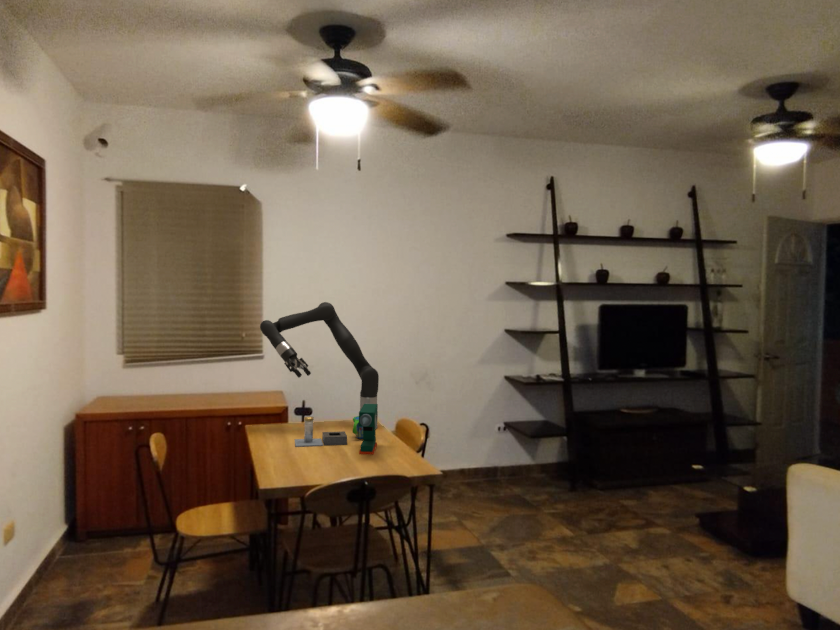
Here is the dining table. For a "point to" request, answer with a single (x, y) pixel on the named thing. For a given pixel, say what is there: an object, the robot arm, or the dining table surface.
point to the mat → (302, 444)
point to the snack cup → (357, 428)
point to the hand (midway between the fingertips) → (305, 375)
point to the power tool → (368, 428)
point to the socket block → (334, 438)
